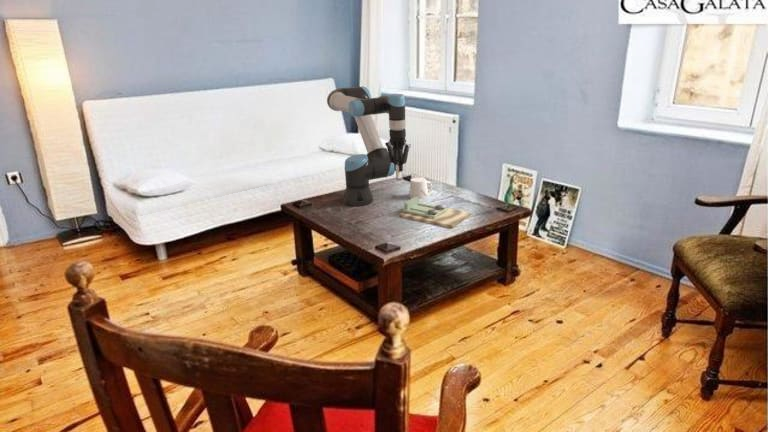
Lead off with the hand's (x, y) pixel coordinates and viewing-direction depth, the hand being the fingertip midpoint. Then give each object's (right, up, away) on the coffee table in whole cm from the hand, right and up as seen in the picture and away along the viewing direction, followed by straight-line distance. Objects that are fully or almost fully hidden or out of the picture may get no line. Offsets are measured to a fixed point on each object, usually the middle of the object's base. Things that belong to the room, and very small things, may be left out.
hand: (398, 177), depth 240 cm
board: (+17, -18, -5) cm, 25 cm away
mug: (+12, -8, +21) cm, 26 cm away
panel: (+12, -16, -3) cm, 20 cm away
